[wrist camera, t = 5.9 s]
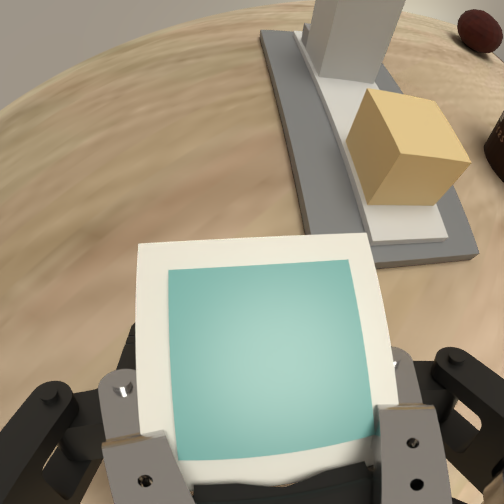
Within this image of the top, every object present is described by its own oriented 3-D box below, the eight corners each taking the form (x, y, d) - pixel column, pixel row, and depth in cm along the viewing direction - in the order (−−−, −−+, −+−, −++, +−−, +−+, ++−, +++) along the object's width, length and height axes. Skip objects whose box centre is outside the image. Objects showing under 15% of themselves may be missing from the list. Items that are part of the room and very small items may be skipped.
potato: (497, 63, 38) (515, 32, 29) (474, 60, 35) (495, 22, 26) (467, 38, 41) (482, 6, 32) (439, 32, 38) (455, -5, 29)
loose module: (196, 429, 13) (145, 492, 4) (189, 329, 15) (136, 239, 6) (301, 420, 13) (407, 456, 5) (290, 322, 15) (369, 228, 7)
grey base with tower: (312, 274, 17) (411, 113, 7) (259, 37, 27) (269, -54, 17) (471, 259, 18) (581, 166, 8) (363, 48, 28) (389, -31, 18)
